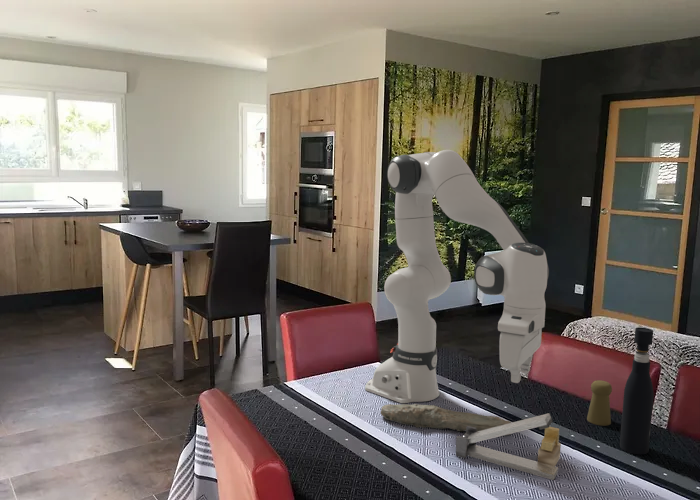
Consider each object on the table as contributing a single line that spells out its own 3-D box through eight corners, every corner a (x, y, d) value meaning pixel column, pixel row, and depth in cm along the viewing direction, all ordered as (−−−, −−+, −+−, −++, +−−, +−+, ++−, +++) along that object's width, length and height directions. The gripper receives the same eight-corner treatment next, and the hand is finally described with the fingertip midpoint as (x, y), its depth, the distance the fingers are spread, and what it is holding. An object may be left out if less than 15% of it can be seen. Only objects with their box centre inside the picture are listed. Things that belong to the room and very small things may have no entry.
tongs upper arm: (460, 449, 140) (456, 439, 140) (468, 441, 144) (463, 431, 144) (547, 428, 128) (542, 417, 129) (553, 420, 132) (548, 409, 133)
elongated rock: (512, 447, 147) (512, 432, 157) (515, 427, 147) (514, 413, 156) (376, 422, 156) (384, 409, 166) (378, 403, 156) (385, 391, 165)
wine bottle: (614, 442, 147) (624, 326, 143) (638, 441, 148) (649, 325, 143) (628, 455, 141) (639, 333, 136) (654, 454, 141) (665, 333, 137)
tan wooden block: (537, 464, 136) (538, 450, 135) (544, 453, 141) (545, 439, 141) (553, 469, 134) (554, 454, 133) (559, 457, 139) (560, 443, 139)
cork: (613, 426, 156) (616, 387, 155) (589, 424, 157) (592, 385, 156) (608, 417, 162) (611, 378, 160) (585, 415, 163) (587, 377, 162)
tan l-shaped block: (539, 448, 135) (540, 433, 135) (545, 440, 140) (546, 425, 139) (553, 452, 134) (554, 437, 133) (558, 443, 138) (559, 428, 137)
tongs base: (455, 455, 140) (456, 436, 139) (466, 443, 146) (467, 425, 145) (551, 483, 128) (553, 462, 127) (559, 469, 134) (561, 449, 133)
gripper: (522, 305, 141) (519, 361, 143) (495, 325, 124) (492, 388, 126) (550, 309, 138) (546, 366, 140) (525, 329, 120) (521, 394, 123)
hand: (520, 376), depth 133 cm, fingers open, 6 cm apart
